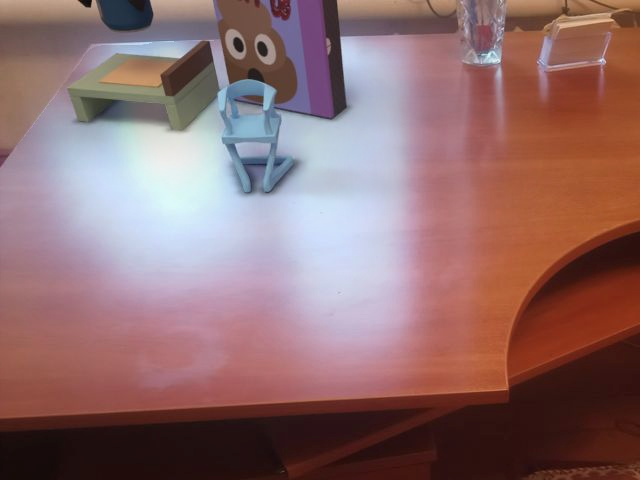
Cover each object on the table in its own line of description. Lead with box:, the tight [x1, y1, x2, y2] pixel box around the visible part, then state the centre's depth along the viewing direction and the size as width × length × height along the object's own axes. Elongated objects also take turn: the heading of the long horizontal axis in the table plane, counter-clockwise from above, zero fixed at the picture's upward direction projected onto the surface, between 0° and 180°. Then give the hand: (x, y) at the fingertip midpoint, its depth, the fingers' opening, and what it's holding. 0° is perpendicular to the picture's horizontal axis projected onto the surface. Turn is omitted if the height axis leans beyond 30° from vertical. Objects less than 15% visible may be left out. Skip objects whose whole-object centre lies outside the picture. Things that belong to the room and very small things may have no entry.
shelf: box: [66, 39, 221, 131], centre depth 108 cm, size 16×14×8 cm
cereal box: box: [212, 0, 347, 120], centre depth 104 cm, size 17×5×24 cm, turn 69°
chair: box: [217, 79, 294, 193], centre depth 91 cm, size 8×8×12 cm
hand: (109, 4), depth 98 cm, fingers closed on soda can, 7 cm apart
